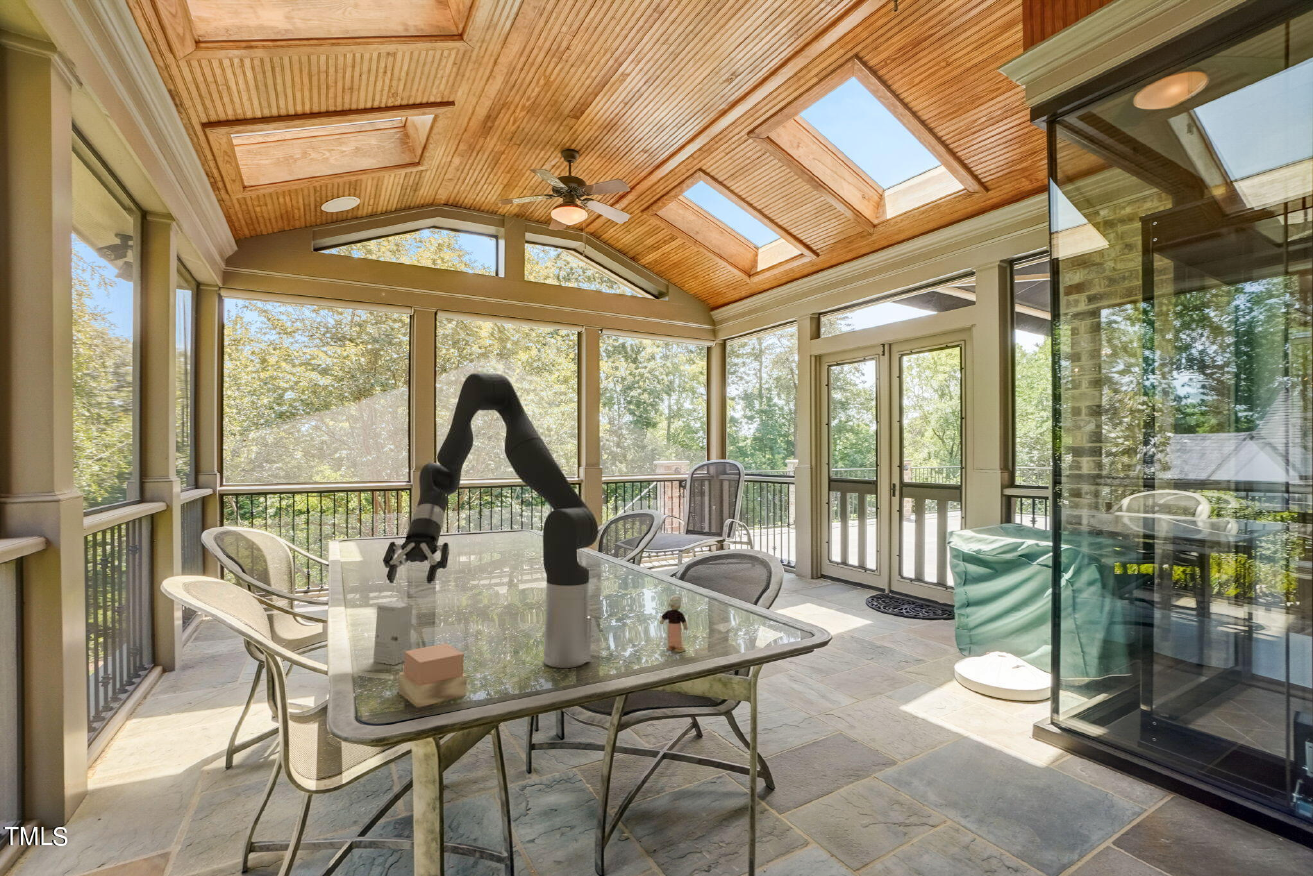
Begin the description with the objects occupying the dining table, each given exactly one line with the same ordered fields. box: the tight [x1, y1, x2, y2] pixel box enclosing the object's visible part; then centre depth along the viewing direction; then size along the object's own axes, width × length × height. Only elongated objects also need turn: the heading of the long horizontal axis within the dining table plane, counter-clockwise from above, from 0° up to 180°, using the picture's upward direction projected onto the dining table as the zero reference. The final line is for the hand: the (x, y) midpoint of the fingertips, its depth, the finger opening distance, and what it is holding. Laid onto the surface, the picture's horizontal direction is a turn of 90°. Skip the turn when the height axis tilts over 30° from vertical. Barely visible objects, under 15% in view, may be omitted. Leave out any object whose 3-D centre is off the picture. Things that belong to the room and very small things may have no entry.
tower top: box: [403, 643, 465, 685], centre depth 113 cm, size 8×8×4 cm
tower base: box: [397, 671, 468, 708], centre depth 113 cm, size 9×9×4 cm
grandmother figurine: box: [659, 594, 689, 653], centre depth 144 cm, size 8×4×13 cm, turn 65°
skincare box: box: [373, 600, 414, 666], centre depth 130 cm, size 6×4×12 cm
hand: (409, 581), depth 141 cm, fingers open, 8 cm apart
